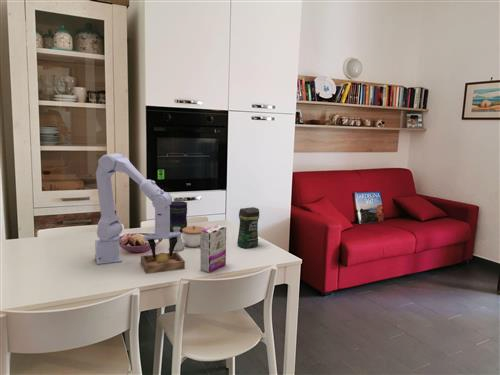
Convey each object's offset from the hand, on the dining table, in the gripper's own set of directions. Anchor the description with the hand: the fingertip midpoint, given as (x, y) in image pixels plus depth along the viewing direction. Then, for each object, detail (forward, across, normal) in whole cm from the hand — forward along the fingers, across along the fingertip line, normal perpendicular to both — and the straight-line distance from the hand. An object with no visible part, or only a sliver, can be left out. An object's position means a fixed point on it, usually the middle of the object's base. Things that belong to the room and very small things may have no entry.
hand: (162, 256), depth 158 cm
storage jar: (+4, +18, +48) cm, 51 cm away
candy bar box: (+4, +18, -8) cm, 21 cm away
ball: (+4, 0, 0) cm, 4 cm away
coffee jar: (+4, +44, +12) cm, 45 cm away
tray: (+4, 0, 0) cm, 4 cm away
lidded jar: (+4, +20, +22) cm, 29 cm away
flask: (+4, +10, +18) cm, 22 cm away
